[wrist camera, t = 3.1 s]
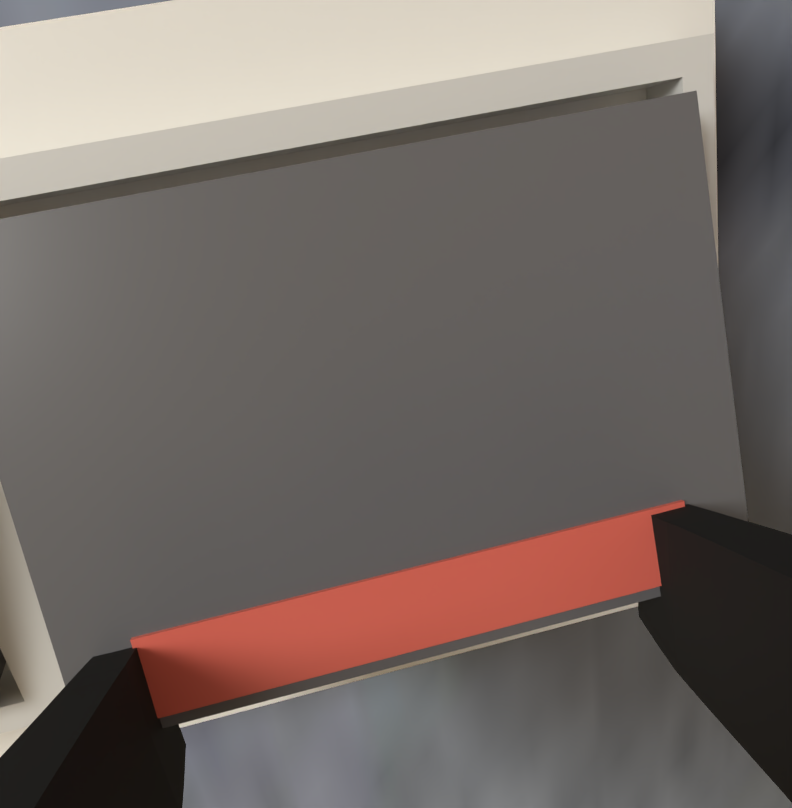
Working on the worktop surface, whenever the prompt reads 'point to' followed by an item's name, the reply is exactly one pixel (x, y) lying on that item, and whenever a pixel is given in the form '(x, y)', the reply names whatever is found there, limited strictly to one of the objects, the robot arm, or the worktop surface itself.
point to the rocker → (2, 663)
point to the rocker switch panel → (297, 134)
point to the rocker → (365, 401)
